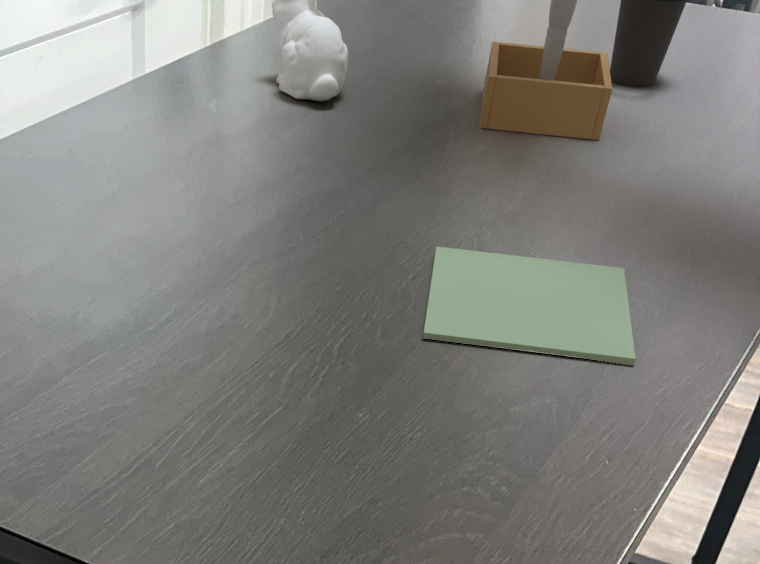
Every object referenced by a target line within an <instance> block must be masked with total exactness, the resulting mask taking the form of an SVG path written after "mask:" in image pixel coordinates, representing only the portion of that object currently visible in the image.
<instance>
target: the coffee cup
mask: <svg viewBox="0 0 760 564" xmlns="http://www.w3.org/2000/svg"><path fill="white" fill-rule="evenodd" d="M689 1H690V0H620V4H619V10H618V17H617V23H616V28H615V35H614V42H613V48H612V54H611V59H610V60H611V61H610V66H609V69H610V76H611V82H613V83H616V84H619V85H623V86H626V87H627V86H628V87H634V88H635V87H636V88H637V87H638V88H641V87H644V88H645V87H650V86H652V85H654V84H655V83H656V81H657V77H658V75H659V72H660V70H661V67H662V65H663V63H664V60H665V57H666V55H667V52H668V50H669V47H670V45H671V42H672V39H673V37H674V35H675V32H676V30H677V27H678V25H679V22H680V20H681V17H682V14H683V11H684V9H685V7H686V4H687V2H689Z"/></svg>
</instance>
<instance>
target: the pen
mask: <svg viewBox="0 0 760 564" xmlns="http://www.w3.org/2000/svg"><path fill="white" fill-rule="evenodd" d="M577 3H578V0H550V5H549V6H550V7H549V14H548V26H547V29H546V36H545V40H544V44H543V47H544V50H543V57H542V64H541V71H540V77H539V79H543V80H553V81H554V78H555V75H556V72H557V68H558V65H559V62H560V58H561V55H562V51H563V48H565V44H566V43H565V42H566V38H567V34H568V28H569V27H570V25H571V22H572V19H573V16H574V13H575V10H576V6H577Z"/></svg>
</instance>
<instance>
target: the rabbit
mask: <svg viewBox="0 0 760 564" xmlns="http://www.w3.org/2000/svg"><path fill="white" fill-rule="evenodd" d="M317 6H318V3H317V0H272V2H271V9H272V12H271V14H272V17H273V18H274V20H275V21H279V22H281V23H282V25H281V28H280V30H279V34H278V46H279V48H280V52H281V53H280V57H281V62H282V69H283V71H282V72H281V73H279V74H278V76H277V77H276V83H277V84H278V90H280V92H283V93H285V94H287V95H289V96H291V97H292V98H294V99H297V100H309V101H310V100H311V101H315V102H325V101H329V100H330V99H332V98H334V97H337V96H338V95H339V93H340V91H341V89H342V87H343V86H344V84H345V82H346V75H347V71H348V62H349V59H348V58H349V57H348V56H349V51H348V46H347V45H346V43H345V42H344V41H343V37H342V32H341V29H340V27H339V26H338V25H337V24H336V22H335V21H333V20H332V19H331V18H329V17H327V16H325V15H324V14H323V13H322V12H321V11H320V10H319V9H318V7H317Z"/></svg>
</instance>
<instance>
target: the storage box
mask: <svg viewBox="0 0 760 564" xmlns="http://www.w3.org/2000/svg"><path fill="white" fill-rule="evenodd" d="M543 50H544V45H542V46H541V45H532V44H521V43H511V42H501V41H492V42H491V46H490V53H489V58H488V64H487V68H486V73H485V79H484V84H483V90H482V97H481V98H482V99H481V108H480V118H479V129H484V128H485V130H496V131H504V132H514V133H515V132H516V133H523V134H525V133H526V134H533V135H544V136H552V137H553V136H554V137H562V138H570V139H571V138H572V139H583V140H592V141H600V138H601V134H602V130H603V126H604V124H605V123H604V122H605V119H606V115H607V111H608V107H609V104H610V100H611V96H612V93H613V83H612V82H613V81H612V80H611V76H610V64H609V57H608V52H605V51H595V50H586V49H585V50H584V49H574V48H565V47H564V48H563V51H562V55H561V58H560V62H559V65H558V68H557V72H556V75H555V78H554V81H553V80H543V79H539V77H540V71H541V64H542V57H543Z"/></svg>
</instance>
